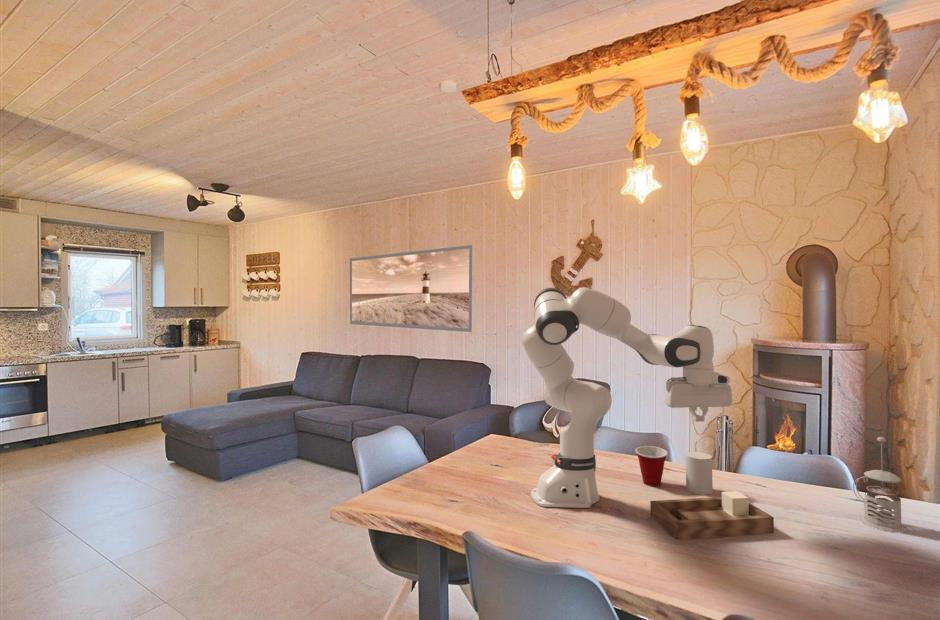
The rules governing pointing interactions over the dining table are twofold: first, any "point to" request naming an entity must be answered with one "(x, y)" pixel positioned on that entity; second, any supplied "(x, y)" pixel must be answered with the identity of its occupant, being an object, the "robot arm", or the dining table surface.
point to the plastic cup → (651, 464)
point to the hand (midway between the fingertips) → (698, 421)
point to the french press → (882, 501)
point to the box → (708, 519)
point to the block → (735, 503)
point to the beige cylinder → (699, 473)
